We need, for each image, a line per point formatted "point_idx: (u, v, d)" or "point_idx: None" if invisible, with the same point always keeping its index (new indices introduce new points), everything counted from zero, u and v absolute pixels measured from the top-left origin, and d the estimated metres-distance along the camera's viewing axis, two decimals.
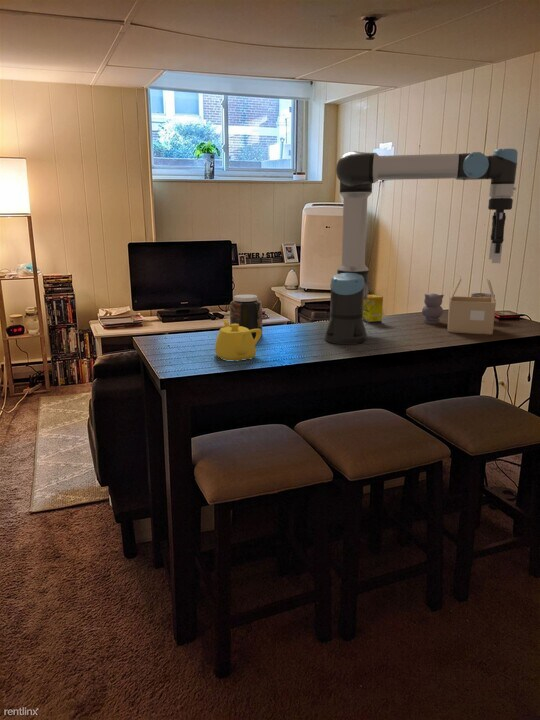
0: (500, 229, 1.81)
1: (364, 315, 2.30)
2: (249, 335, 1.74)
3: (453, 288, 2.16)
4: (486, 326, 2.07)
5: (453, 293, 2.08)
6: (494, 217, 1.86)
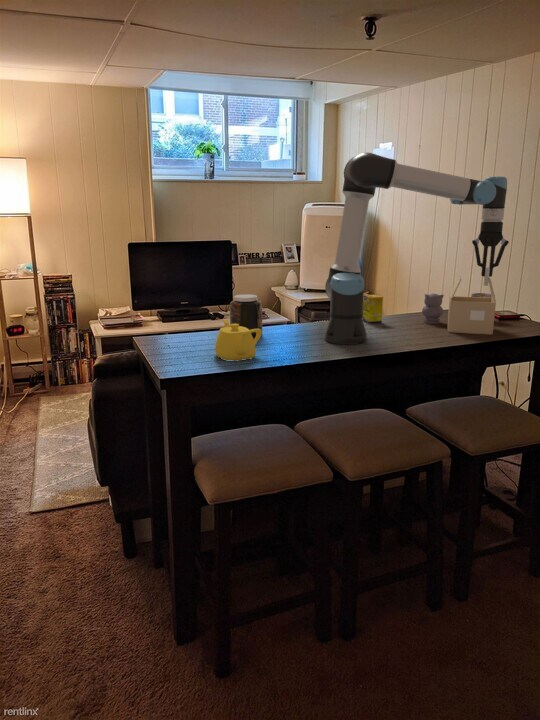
0: (476, 255, 2.06)
1: (364, 315, 2.30)
2: (249, 335, 1.74)
3: (453, 288, 2.16)
4: (486, 326, 2.07)
5: (453, 293, 2.08)
6: None
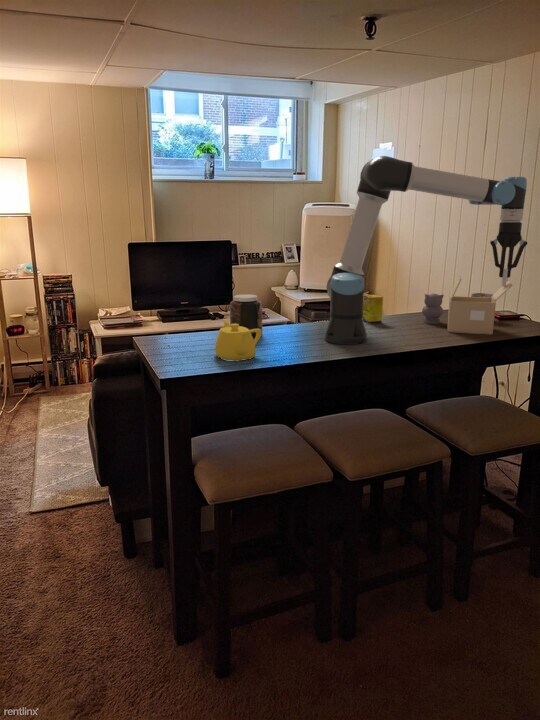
0: (494, 256, 2.05)
1: (364, 315, 2.30)
2: (249, 335, 1.74)
3: (453, 288, 2.16)
4: (486, 326, 2.07)
5: (453, 293, 2.08)
6: None
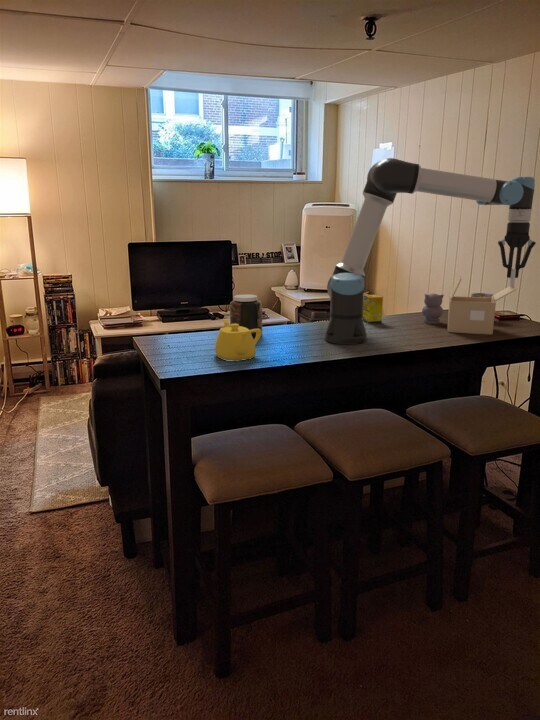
0: (501, 256, 2.04)
1: (364, 315, 2.30)
2: (249, 335, 1.74)
3: (453, 288, 2.16)
4: (486, 326, 2.07)
5: (453, 293, 2.08)
6: None
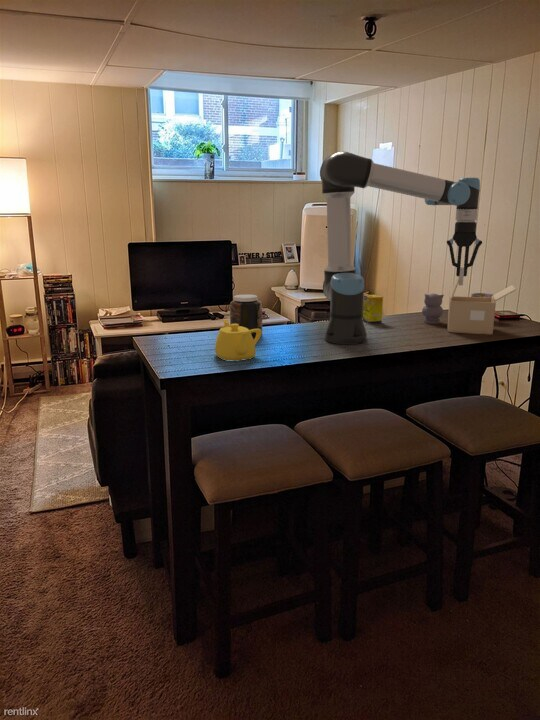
0: None
1: (364, 315, 2.30)
2: (249, 335, 1.74)
3: (452, 289, 2.16)
4: (486, 326, 2.07)
5: (453, 293, 2.08)
6: None
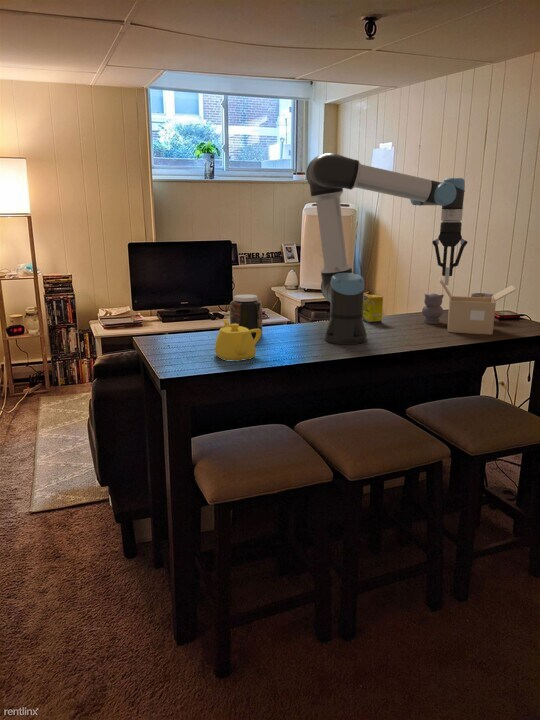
0: (436, 255, 2.10)
1: (364, 315, 2.30)
2: (249, 335, 1.74)
3: (446, 289, 2.17)
4: (486, 326, 2.07)
5: None
6: None
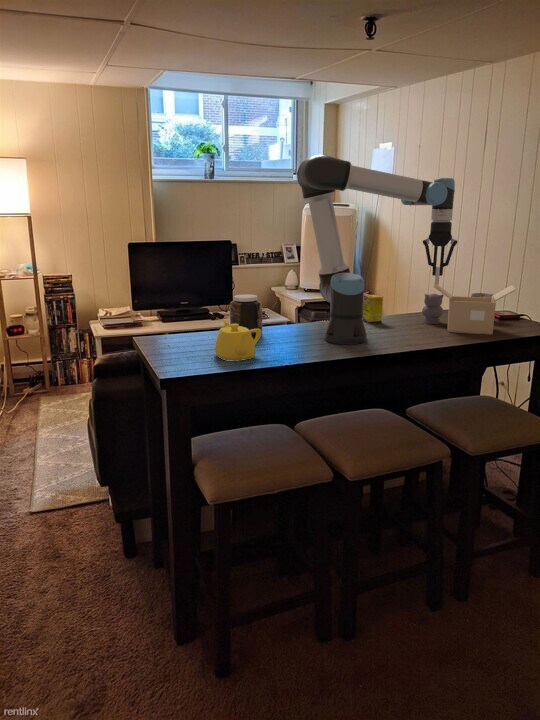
0: None
1: (364, 315, 2.30)
2: (249, 335, 1.74)
3: (444, 291, 2.17)
4: (486, 326, 2.07)
5: None
6: None
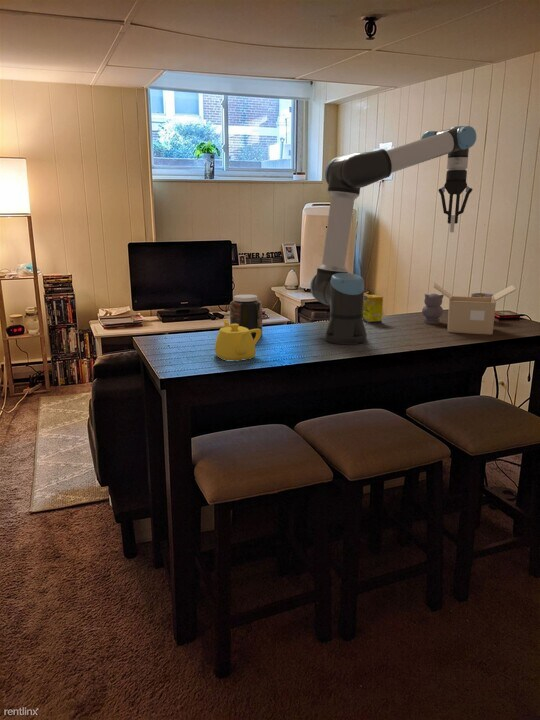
0: (442, 203, 2.18)
1: (364, 315, 2.30)
2: (249, 335, 1.74)
3: (444, 291, 2.17)
4: (486, 326, 2.07)
5: None
6: None
